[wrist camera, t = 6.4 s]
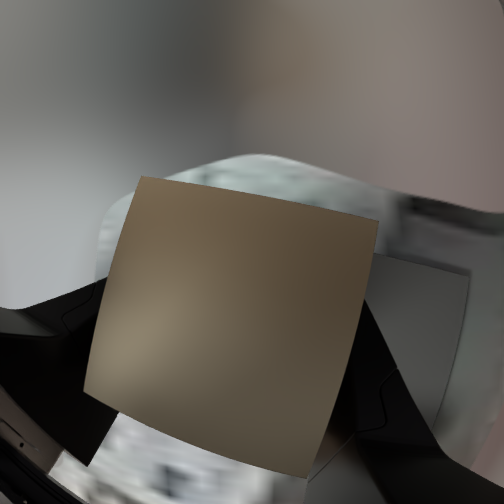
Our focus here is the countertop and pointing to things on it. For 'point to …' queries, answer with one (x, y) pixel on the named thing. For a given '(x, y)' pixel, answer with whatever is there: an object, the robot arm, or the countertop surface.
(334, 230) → the birch block
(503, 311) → the countertop surface
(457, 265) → the countertop surface
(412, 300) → the charcoal mat
